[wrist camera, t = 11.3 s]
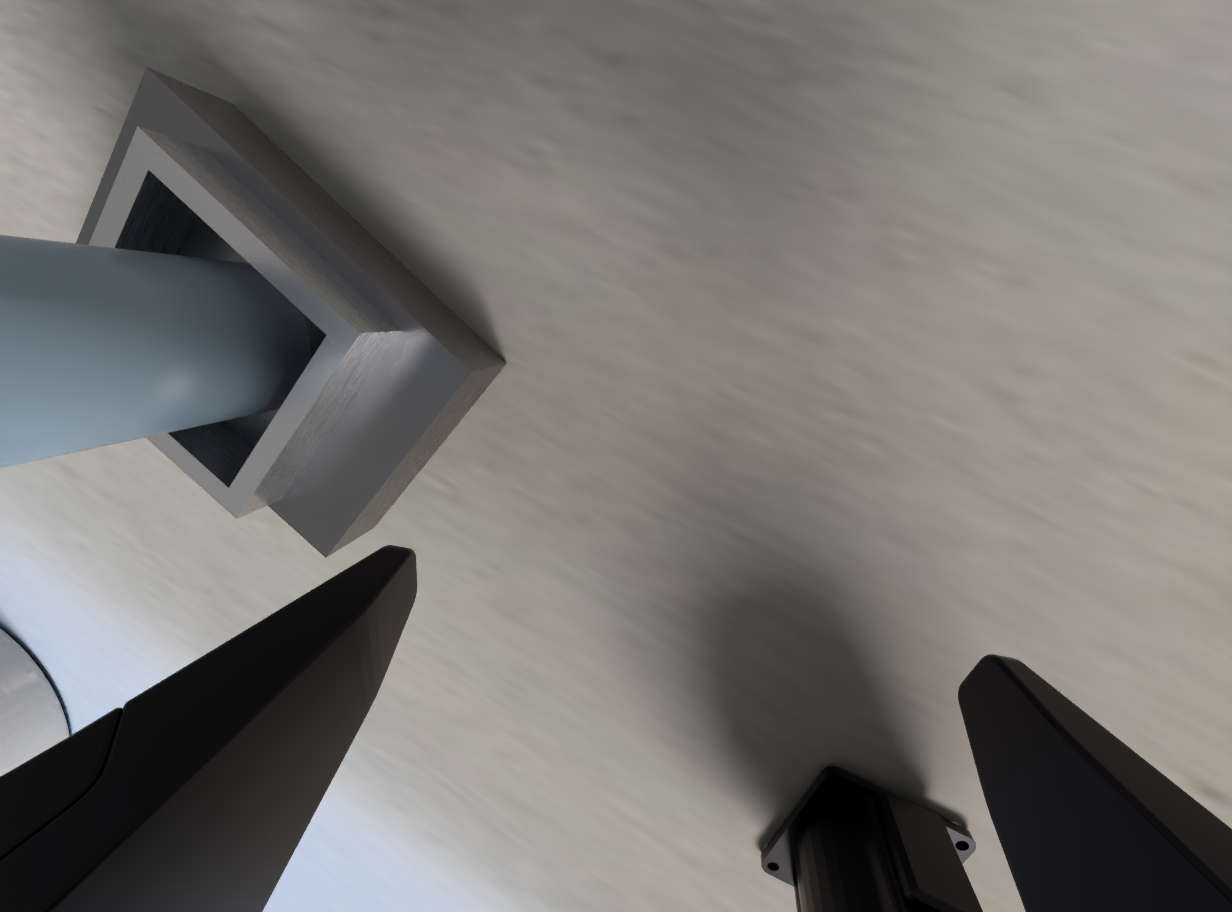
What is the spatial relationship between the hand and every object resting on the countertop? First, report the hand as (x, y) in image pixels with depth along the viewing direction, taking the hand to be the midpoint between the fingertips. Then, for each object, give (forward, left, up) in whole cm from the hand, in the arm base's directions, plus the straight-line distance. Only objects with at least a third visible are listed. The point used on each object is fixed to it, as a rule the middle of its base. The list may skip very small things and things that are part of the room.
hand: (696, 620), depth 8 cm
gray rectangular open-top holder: (-3, +17, -12) cm, 21 cm away
